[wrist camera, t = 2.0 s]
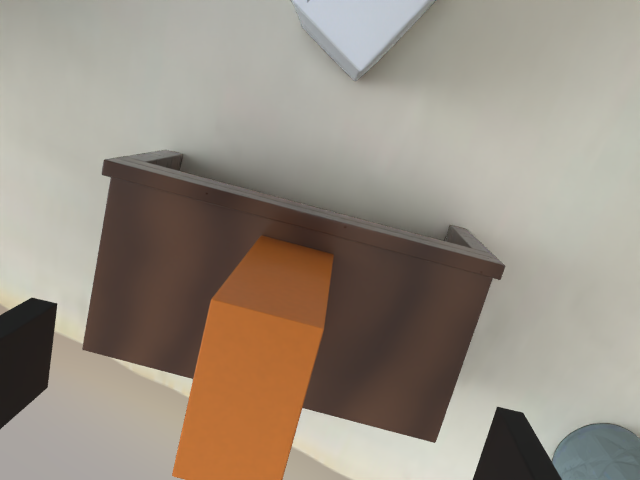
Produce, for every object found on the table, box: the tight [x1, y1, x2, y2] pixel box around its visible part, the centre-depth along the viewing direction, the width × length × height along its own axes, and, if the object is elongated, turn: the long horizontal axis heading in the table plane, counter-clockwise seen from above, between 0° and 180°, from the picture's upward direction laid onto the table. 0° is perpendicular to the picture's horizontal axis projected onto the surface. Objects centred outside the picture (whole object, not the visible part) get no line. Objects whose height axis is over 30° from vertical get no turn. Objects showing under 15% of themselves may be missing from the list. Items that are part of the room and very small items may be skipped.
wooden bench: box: [83, 150, 505, 443], centre depth 41 cm, size 26×14×12 cm, turn 76°
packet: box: [172, 236, 334, 480], centre depth 30 cm, size 5×9×13 cm, turn 166°
